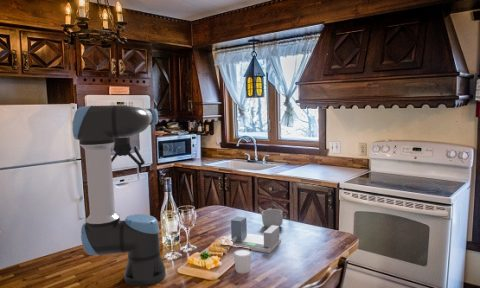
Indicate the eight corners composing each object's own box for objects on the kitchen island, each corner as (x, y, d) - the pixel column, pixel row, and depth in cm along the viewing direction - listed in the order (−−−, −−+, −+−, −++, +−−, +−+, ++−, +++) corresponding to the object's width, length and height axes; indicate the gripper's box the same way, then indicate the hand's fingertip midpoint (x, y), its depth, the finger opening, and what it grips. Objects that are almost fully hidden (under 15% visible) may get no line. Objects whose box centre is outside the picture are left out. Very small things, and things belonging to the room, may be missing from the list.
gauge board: (220, 244, 169) (220, 227, 168) (234, 234, 181) (234, 218, 180) (269, 252, 158) (269, 234, 157) (280, 241, 171) (280, 224, 170)
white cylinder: (241, 264, 148) (241, 247, 147) (255, 269, 144) (254, 251, 143) (230, 270, 143) (229, 253, 142) (244, 275, 138) (243, 257, 137)
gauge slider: (227, 242, 167) (226, 222, 166) (237, 234, 176) (236, 216, 175) (237, 243, 165) (236, 224, 164) (246, 236, 174) (246, 217, 173)
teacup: (283, 230, 186) (283, 214, 185) (262, 230, 186) (261, 215, 185) (281, 221, 199) (281, 206, 199) (261, 221, 200) (260, 207, 199)
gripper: (148, 135, 186) (151, 176, 188) (96, 137, 182) (99, 179, 185) (147, 136, 178) (149, 179, 181) (93, 138, 175) (96, 182, 177)
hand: (124, 179), depth 183 cm, fingers open, 13 cm apart
